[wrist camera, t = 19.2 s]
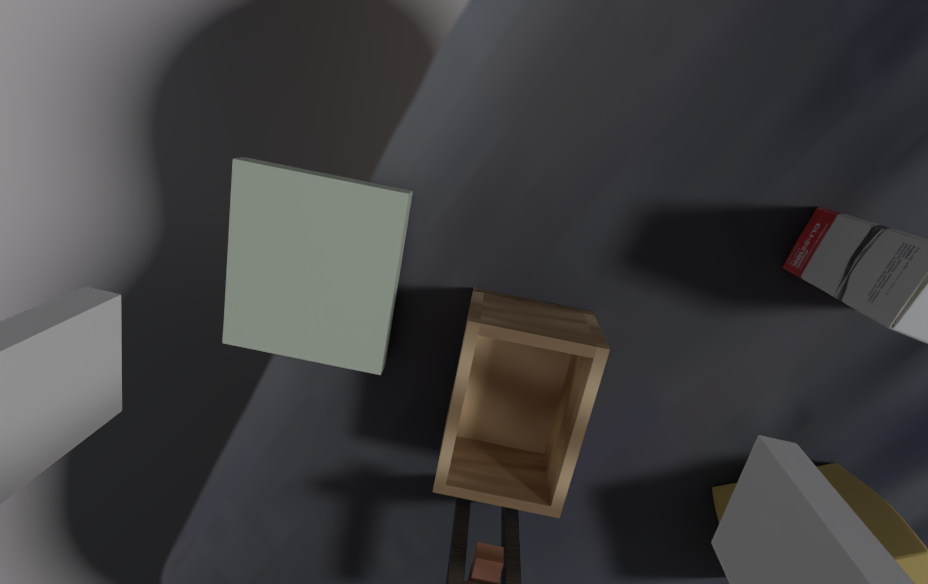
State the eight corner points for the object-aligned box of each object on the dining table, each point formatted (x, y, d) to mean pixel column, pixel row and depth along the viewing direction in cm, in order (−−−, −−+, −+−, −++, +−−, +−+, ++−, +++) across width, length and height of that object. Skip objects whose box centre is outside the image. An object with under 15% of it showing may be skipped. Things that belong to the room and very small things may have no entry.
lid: (249, 156, 39) (232, 158, 37) (414, 189, 39) (409, 193, 36) (238, 330, 43) (222, 342, 41) (387, 360, 43) (380, 375, 41)
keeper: (460, 474, 46) (447, 587, 35) (517, 485, 46) (521, 602, 35) (457, 490, 46) (443, 606, 35) (513, 501, 46) (516, 621, 35)
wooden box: (473, 287, 41) (467, 320, 34) (592, 311, 41) (609, 349, 34) (442, 436, 45) (432, 492, 38) (551, 458, 45) (559, 518, 38)
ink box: (777, 269, 39) (889, 330, 28) (816, 204, 37) (951, 241, 26) (885, 312, 39) (1039, 390, 28) (928, 249, 38) (1108, 305, 27)
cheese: (854, 558, 46) (946, 673, 36) (721, 581, 47) (776, 697, 38) (841, 453, 43) (938, 549, 33) (701, 481, 45) (755, 580, 35)
